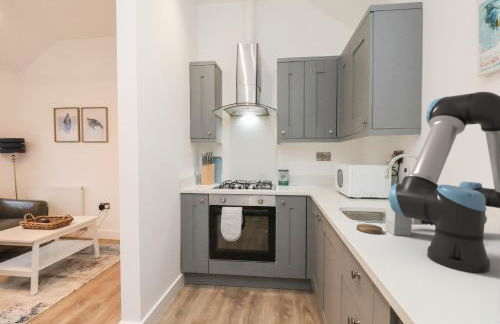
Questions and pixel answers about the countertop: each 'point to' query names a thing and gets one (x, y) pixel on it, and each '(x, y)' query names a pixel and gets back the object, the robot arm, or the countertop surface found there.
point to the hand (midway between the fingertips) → (401, 216)
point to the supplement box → (397, 222)
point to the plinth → (369, 228)
